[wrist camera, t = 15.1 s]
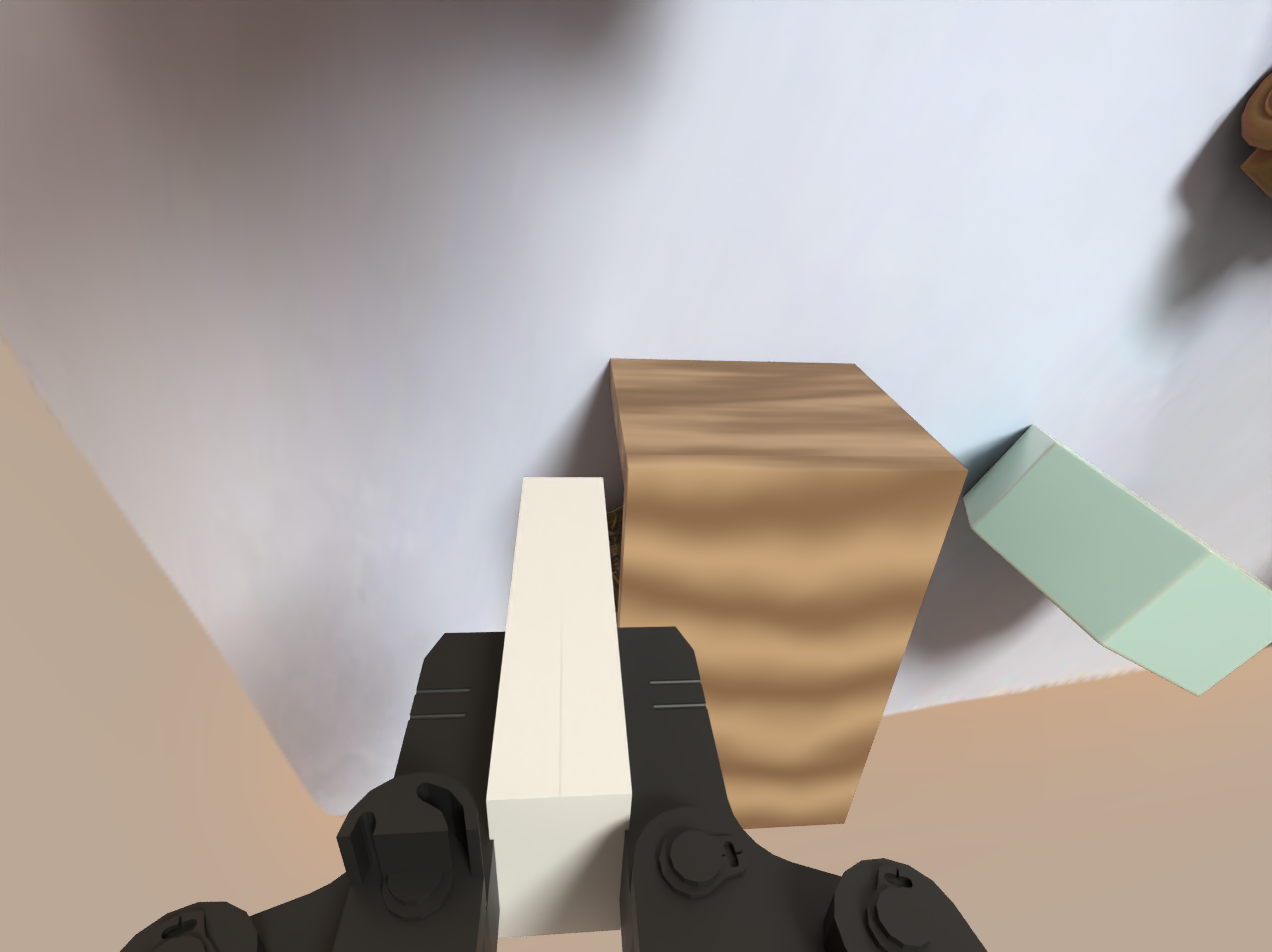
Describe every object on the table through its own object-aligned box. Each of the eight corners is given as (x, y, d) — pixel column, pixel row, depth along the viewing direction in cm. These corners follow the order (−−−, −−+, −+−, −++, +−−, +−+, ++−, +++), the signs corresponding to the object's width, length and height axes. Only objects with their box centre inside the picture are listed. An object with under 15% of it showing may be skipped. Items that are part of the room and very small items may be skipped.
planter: (958, 484, 59) (974, 553, 40) (1023, 415, 56) (1073, 455, 37) (1130, 608, 55) (1234, 747, 37) (1209, 542, 52) (1366, 657, 34)
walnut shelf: (610, 358, 45) (628, 469, 32) (854, 363, 47) (968, 470, 34) (598, 671, 60) (607, 836, 47) (784, 666, 62) (844, 823, 49)
